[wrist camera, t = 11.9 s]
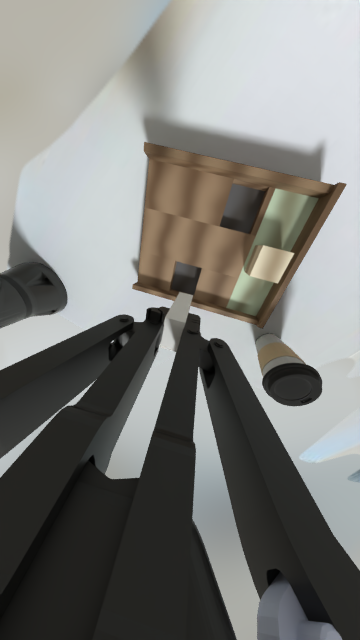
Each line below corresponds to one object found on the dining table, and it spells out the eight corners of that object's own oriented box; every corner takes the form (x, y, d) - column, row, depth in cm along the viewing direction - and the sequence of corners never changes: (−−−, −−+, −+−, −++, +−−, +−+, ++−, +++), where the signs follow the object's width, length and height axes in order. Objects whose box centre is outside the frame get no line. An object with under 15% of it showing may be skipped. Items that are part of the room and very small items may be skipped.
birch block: (244, 271, 31) (249, 275, 27) (255, 245, 29) (263, 245, 24) (268, 278, 31) (277, 283, 26) (281, 252, 28) (294, 253, 24)
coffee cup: (277, 360, 41) (308, 414, 28) (243, 352, 42) (257, 400, 29) (295, 332, 37) (341, 379, 24) (256, 323, 38) (279, 365, 25)
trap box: (141, 283, 39) (130, 289, 34) (155, 158, 28) (141, 137, 23) (255, 316, 37) (262, 328, 32) (319, 196, 26) (346, 184, 21)
